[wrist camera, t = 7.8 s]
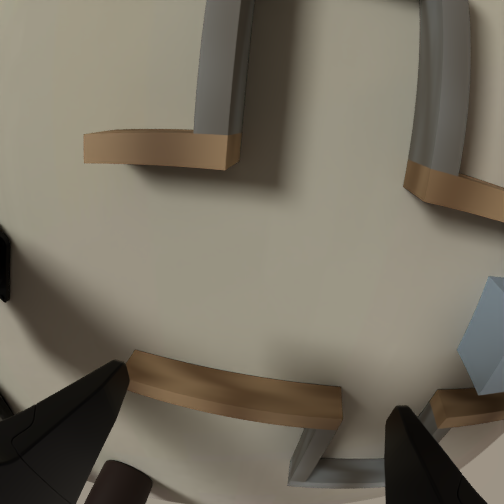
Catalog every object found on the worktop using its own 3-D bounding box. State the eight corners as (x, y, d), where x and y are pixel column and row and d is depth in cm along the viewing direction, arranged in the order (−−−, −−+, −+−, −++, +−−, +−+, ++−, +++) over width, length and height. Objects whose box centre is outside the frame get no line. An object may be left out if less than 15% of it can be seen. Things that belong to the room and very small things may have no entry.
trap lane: (156, 434, 23) (142, 464, 19) (139, -43, 8) (102, -70, 5) (449, 457, 20) (455, 485, 17) (602, 87, 6) (635, 92, 2)
